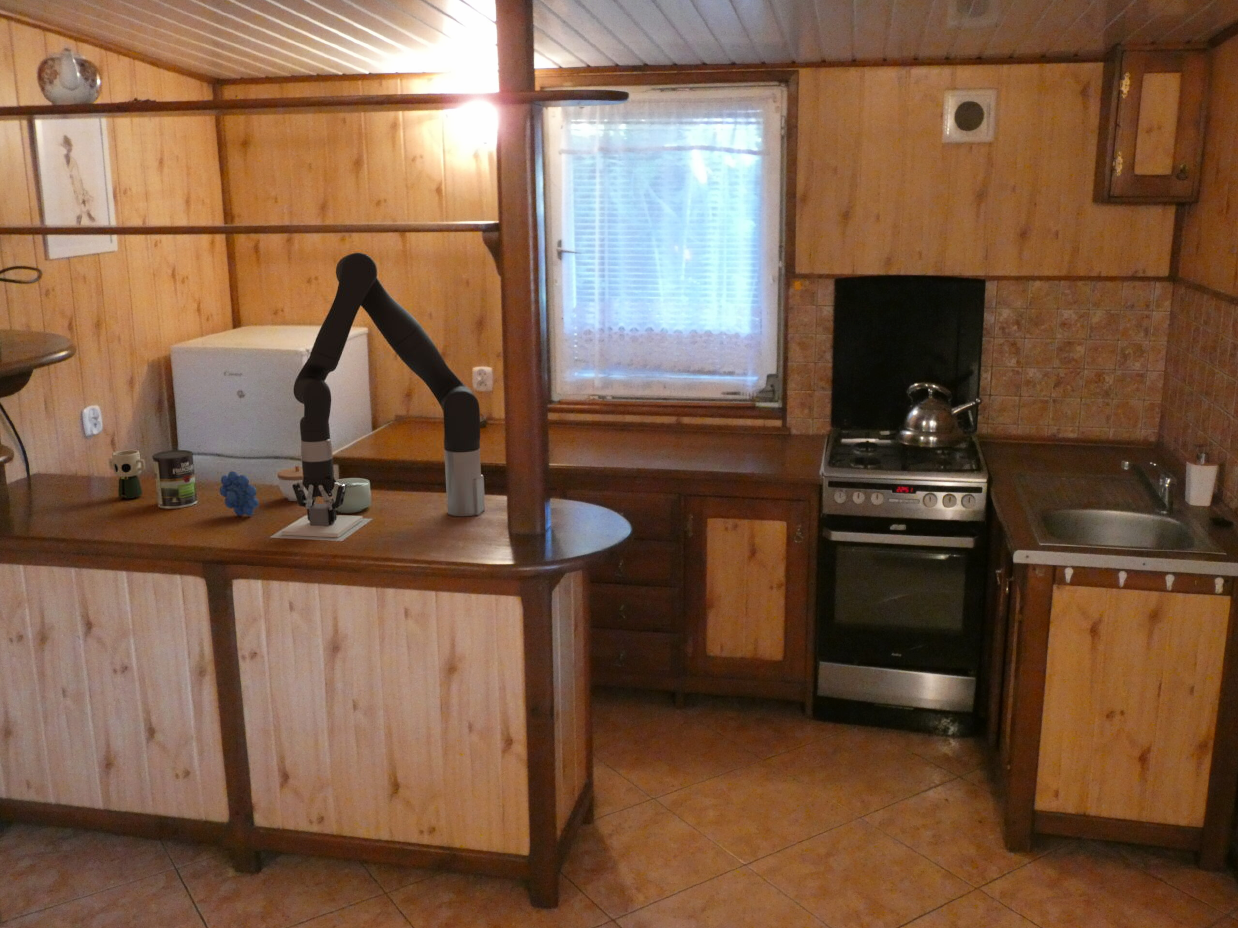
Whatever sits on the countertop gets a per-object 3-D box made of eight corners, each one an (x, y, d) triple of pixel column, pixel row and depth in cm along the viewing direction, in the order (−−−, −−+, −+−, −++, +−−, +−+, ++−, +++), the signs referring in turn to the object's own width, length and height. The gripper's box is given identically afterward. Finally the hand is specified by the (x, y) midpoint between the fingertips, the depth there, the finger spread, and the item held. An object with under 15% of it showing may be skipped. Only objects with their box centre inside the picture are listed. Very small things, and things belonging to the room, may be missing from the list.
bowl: (377, 505, 303) (376, 478, 301) (361, 517, 292) (359, 488, 291) (339, 503, 305) (337, 476, 303) (322, 515, 294) (320, 487, 293)
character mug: (105, 500, 311) (99, 454, 308) (121, 493, 318) (115, 449, 315) (140, 501, 309) (135, 456, 306) (155, 495, 316) (150, 450, 313)
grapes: (211, 518, 293) (207, 473, 290) (228, 511, 299) (224, 467, 296) (248, 522, 289) (244, 477, 286) (264, 515, 295) (260, 471, 292)
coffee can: (206, 502, 308) (200, 452, 305) (174, 511, 300) (168, 460, 297) (181, 497, 314) (176, 448, 310) (149, 505, 305) (143, 455, 302)
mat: (372, 519, 290) (372, 518, 290) (341, 542, 272) (341, 540, 272) (304, 516, 293) (304, 515, 293) (269, 538, 275) (269, 537, 275)
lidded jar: (325, 493, 315) (322, 461, 313) (311, 504, 305) (308, 471, 303) (288, 493, 316) (285, 461, 314) (273, 503, 306) (270, 470, 304)
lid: (362, 519, 288) (361, 499, 287) (338, 537, 274) (336, 515, 272) (308, 517, 291) (306, 497, 289) (281, 534, 276) (279, 513, 275)
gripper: (350, 454, 280) (355, 519, 284) (297, 452, 283) (302, 517, 287) (337, 461, 273) (342, 528, 277) (283, 459, 276) (289, 525, 280)
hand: (322, 522), depth 282 cm, fingers closed on lid, 4 cm apart
